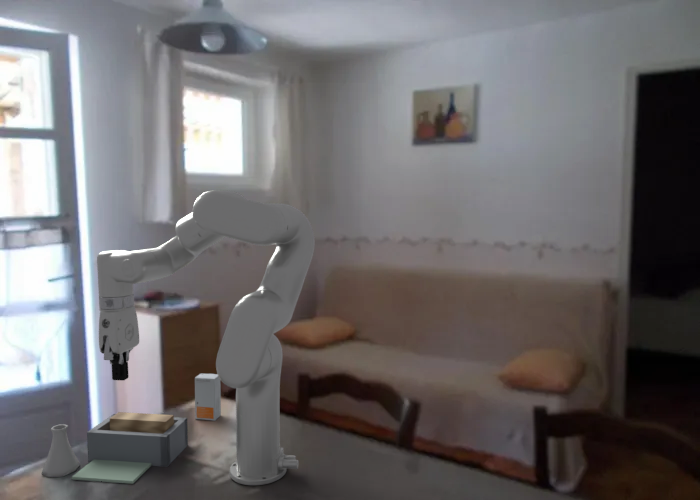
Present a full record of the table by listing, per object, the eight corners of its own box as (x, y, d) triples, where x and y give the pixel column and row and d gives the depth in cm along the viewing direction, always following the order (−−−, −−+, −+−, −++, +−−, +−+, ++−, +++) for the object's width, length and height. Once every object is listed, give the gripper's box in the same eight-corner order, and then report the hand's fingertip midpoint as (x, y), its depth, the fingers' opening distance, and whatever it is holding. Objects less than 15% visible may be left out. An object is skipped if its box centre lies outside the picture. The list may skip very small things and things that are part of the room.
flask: (63, 480, 114) (61, 435, 114) (34, 476, 116) (32, 432, 115) (86, 464, 122) (84, 421, 121) (59, 461, 123) (57, 419, 122)
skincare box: (194, 419, 147) (193, 377, 146) (201, 413, 151) (200, 372, 150) (215, 421, 146) (214, 378, 145) (221, 415, 150) (220, 373, 149)
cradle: (187, 445, 131) (187, 417, 131) (167, 466, 120) (166, 436, 120) (114, 440, 134) (113, 413, 133) (87, 461, 123) (86, 432, 122)
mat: (151, 465, 121) (151, 463, 121) (132, 483, 113) (132, 481, 113) (94, 461, 123) (93, 459, 123) (71, 479, 115) (71, 476, 115)
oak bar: (174, 435, 128) (173, 415, 127) (166, 442, 124) (165, 421, 123) (119, 432, 129) (118, 412, 129) (110, 439, 125) (109, 418, 125)
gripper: (113, 308, 117) (117, 390, 118) (147, 297, 132) (151, 370, 133) (82, 308, 118) (86, 389, 119) (119, 297, 133) (122, 369, 134)
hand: (120, 379), depth 126 cm, fingers closed
